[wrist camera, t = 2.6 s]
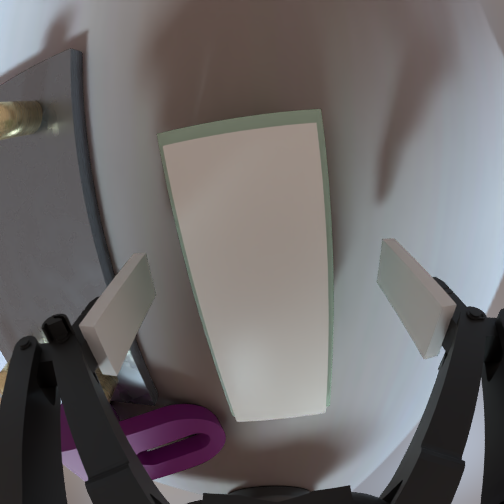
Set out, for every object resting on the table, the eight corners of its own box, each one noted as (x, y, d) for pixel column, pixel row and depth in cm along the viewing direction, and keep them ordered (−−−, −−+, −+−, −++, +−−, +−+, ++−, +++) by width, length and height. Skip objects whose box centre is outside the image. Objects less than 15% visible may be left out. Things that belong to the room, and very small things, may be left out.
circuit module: (313, 334, 22) (331, 415, 15) (237, 343, 23) (232, 426, 15) (294, 115, 16) (326, 107, 9) (194, 130, 16) (149, 134, 9)
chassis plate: (158, 394, 26) (142, 447, 20) (23, 371, 26) (0, 405, 20) (82, 52, 14) (21, 35, 8) (-55, 132, 14) (-99, 145, 8)
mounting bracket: (186, 354, 31) (54, 399, 25) (210, 405, 24) (50, 453, 18) (210, 403, 35) (93, 442, 29) (234, 450, 28) (100, 492, 22)
